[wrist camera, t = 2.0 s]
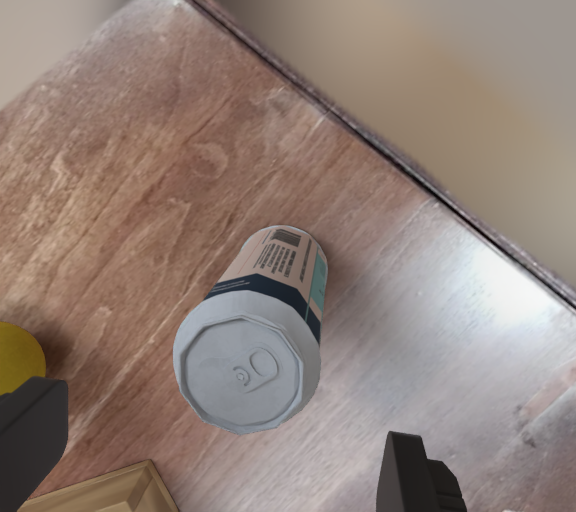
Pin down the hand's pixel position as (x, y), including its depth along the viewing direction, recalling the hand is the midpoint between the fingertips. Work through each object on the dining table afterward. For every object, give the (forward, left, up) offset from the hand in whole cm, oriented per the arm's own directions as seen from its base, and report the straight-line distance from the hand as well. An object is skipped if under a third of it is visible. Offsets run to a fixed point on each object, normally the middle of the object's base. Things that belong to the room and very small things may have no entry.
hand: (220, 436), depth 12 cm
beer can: (0, 0, -15) cm, 15 cm away
